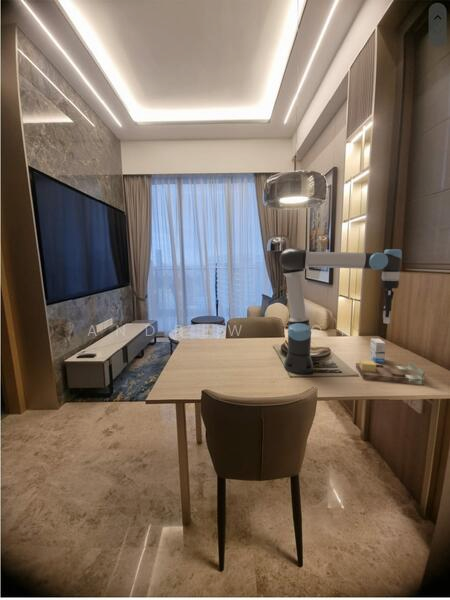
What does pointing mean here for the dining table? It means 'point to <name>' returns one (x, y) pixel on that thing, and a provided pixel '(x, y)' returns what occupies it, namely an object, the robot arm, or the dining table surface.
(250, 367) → the dining table surface
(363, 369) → the ochre block
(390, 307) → the robot arm
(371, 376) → the board
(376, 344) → the ink box
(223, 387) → the dining table surface
